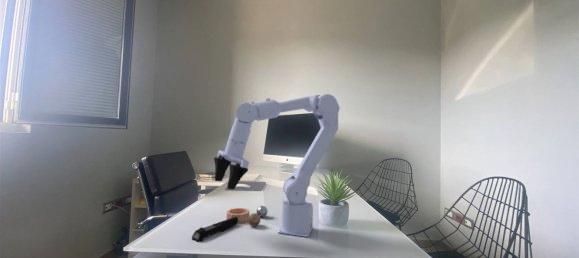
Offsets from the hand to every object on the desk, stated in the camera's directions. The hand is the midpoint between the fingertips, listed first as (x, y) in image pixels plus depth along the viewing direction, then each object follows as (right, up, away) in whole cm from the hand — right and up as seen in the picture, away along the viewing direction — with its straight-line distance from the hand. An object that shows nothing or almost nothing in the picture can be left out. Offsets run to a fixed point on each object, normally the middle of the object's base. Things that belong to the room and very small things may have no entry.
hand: (224, 184), depth 70 cm
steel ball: (+10, -13, +14) cm, 21 cm away
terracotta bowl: (+2, -15, +11) cm, 18 cm away
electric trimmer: (-2, -15, -1) cm, 15 cm away
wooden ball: (+8, -13, +5) cm, 16 cm away
